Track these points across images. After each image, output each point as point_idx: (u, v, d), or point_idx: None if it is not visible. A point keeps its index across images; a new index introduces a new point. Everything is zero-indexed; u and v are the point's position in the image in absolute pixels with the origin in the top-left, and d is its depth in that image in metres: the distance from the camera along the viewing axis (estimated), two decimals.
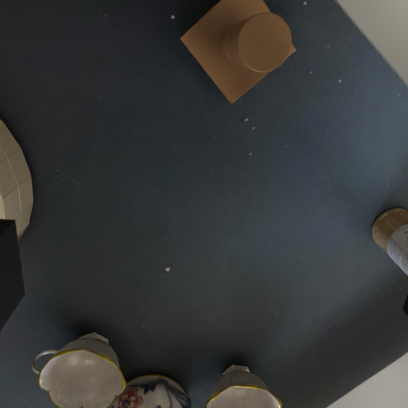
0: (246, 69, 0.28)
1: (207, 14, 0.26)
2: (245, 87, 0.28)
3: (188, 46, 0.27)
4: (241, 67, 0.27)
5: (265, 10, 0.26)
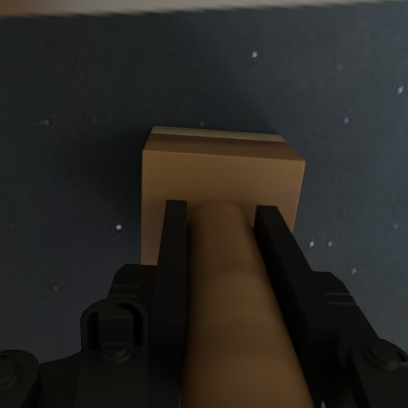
0: None
1: (143, 237, 0.15)
2: None
3: None
4: None
5: (210, 161, 0.14)
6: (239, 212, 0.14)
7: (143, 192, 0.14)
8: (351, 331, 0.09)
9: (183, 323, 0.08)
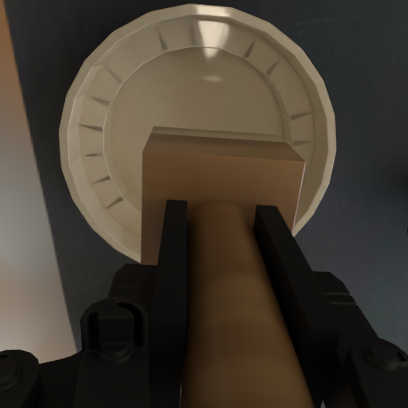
0: None
1: (143, 237, 0.15)
2: None
3: None
4: None
5: (211, 161, 0.14)
6: (239, 213, 0.14)
7: (143, 192, 0.14)
8: (351, 331, 0.09)
9: (183, 323, 0.08)
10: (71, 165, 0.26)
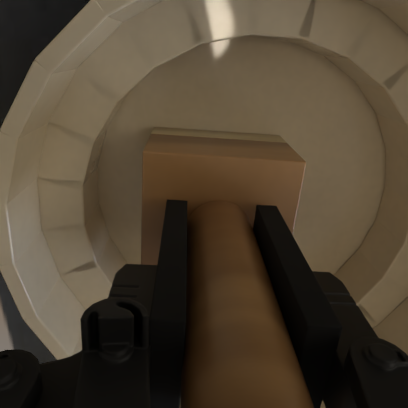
0: None
1: (143, 238, 0.15)
2: None
3: None
4: None
5: (211, 162, 0.14)
6: (239, 213, 0.14)
7: (143, 193, 0.14)
8: (351, 331, 0.09)
9: (183, 323, 0.08)
10: (19, 259, 0.14)
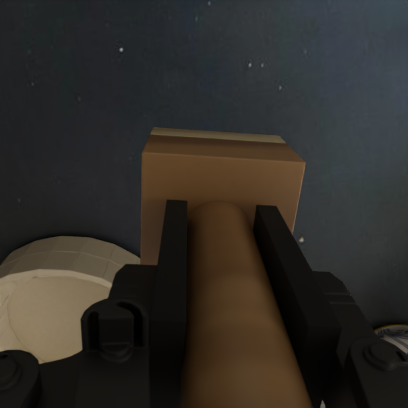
0: None
1: (143, 239, 0.15)
2: None
3: None
4: None
5: (210, 162, 0.14)
6: (239, 214, 0.14)
7: (143, 194, 0.14)
8: (351, 331, 0.09)
9: (183, 323, 0.08)
10: None
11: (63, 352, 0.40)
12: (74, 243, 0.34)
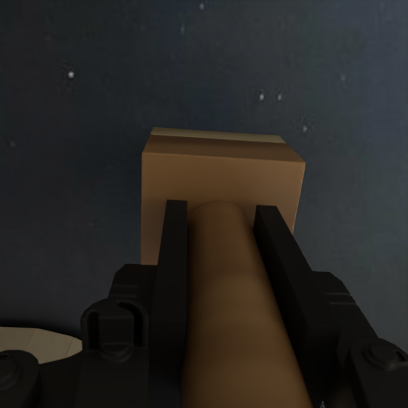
0: None
1: (143, 239, 0.15)
2: None
3: None
4: None
5: (210, 162, 0.14)
6: (239, 214, 0.14)
7: (143, 194, 0.14)
8: (351, 331, 0.09)
9: (183, 323, 0.08)
10: None
11: None
12: (12, 341, 0.24)
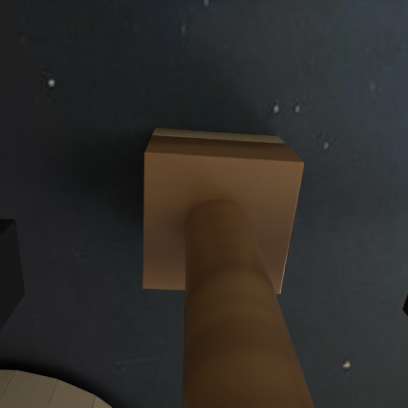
0: (259, 245, 0.15)
1: (145, 237, 0.15)
2: (279, 263, 0.16)
3: (161, 287, 0.16)
4: None
5: (211, 162, 0.14)
6: (239, 212, 0.14)
7: (145, 193, 0.14)
8: None
9: None
10: None
11: None
12: None
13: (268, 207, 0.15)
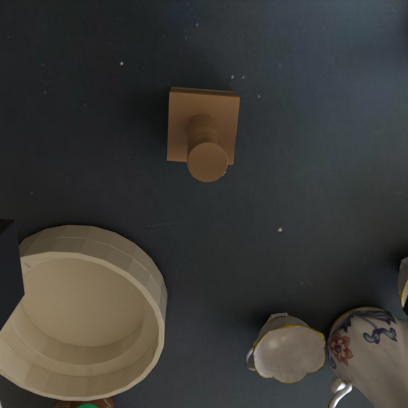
0: (221, 138, 0.33)
1: (168, 133, 0.33)
2: (231, 147, 0.33)
3: (175, 160, 0.34)
4: None
5: (198, 96, 0.32)
6: (211, 118, 0.32)
7: (169, 111, 0.32)
8: None
9: None
10: None
11: (68, 330, 0.45)
12: (79, 231, 0.39)
13: (225, 119, 0.32)
